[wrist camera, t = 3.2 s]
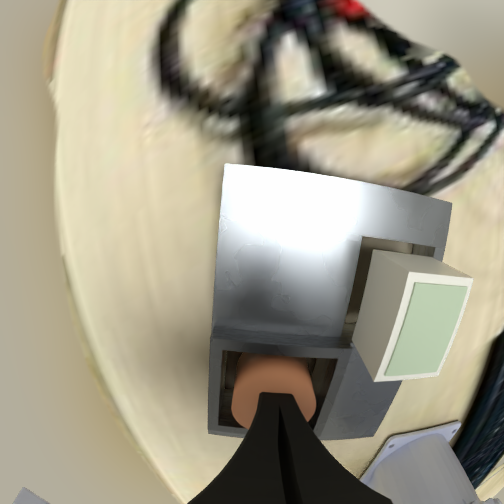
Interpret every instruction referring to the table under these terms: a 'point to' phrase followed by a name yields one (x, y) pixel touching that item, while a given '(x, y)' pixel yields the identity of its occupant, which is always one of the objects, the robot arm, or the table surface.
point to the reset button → (270, 384)
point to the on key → (409, 315)
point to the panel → (306, 284)
